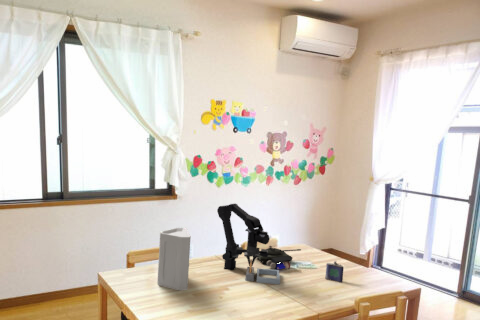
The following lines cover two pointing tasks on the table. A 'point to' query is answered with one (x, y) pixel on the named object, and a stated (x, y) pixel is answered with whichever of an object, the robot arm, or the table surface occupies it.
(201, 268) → the table surface
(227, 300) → the table surface
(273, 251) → the toy tank
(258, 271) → the tray
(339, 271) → the wallet
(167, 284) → the tall grey upright pillar
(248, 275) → the dispenser
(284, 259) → the figurine character
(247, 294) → the table surface
